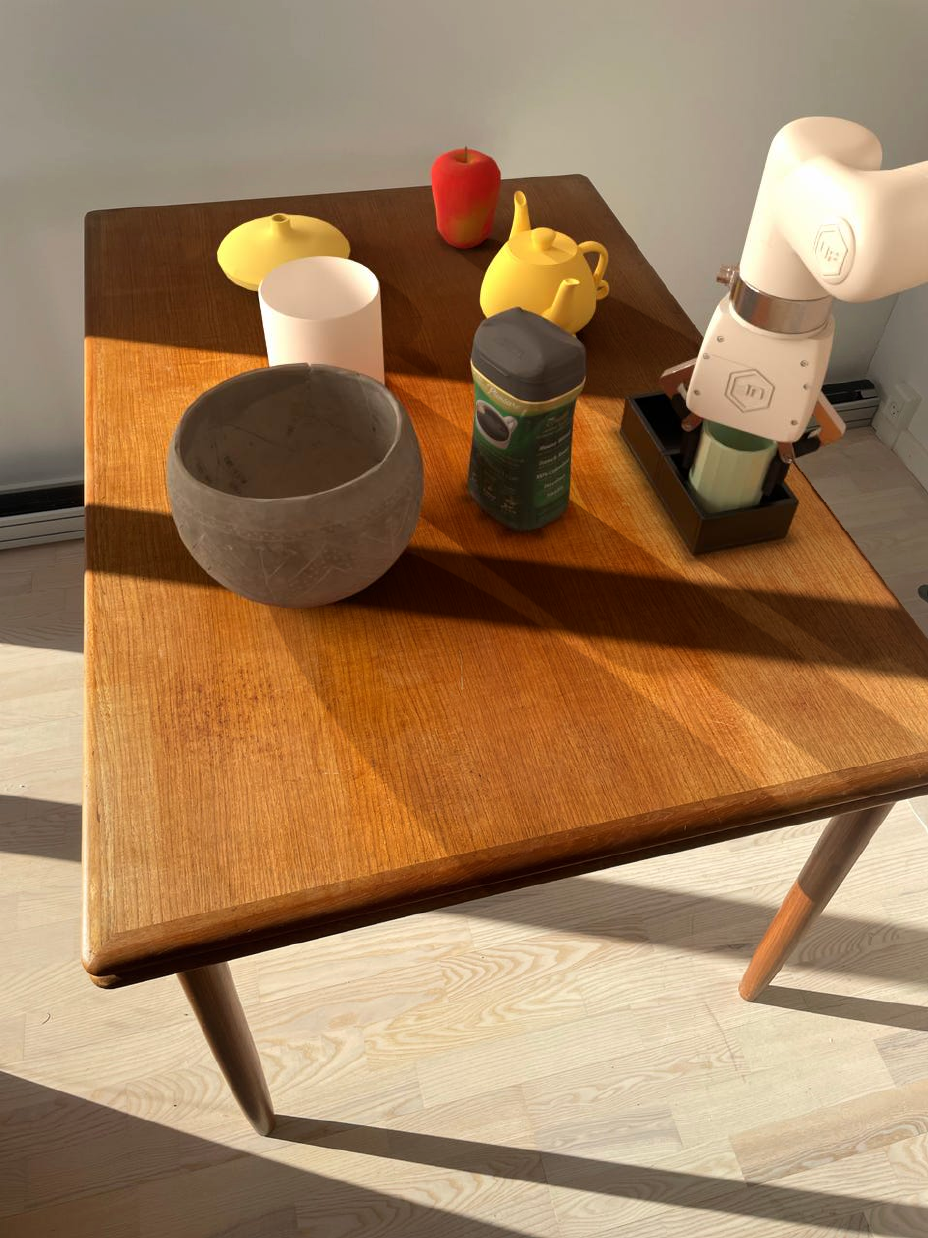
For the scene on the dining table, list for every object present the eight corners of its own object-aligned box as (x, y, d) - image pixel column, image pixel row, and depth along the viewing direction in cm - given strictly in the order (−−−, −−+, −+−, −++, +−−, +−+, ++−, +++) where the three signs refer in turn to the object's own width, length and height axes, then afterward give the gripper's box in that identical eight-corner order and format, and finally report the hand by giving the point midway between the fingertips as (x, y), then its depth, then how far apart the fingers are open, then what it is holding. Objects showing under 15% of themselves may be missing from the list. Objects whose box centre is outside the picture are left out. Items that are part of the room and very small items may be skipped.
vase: (351, 308, 113) (347, 251, 108) (215, 310, 112) (203, 254, 107) (352, 239, 123) (348, 184, 118) (227, 241, 122) (217, 186, 117)
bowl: (182, 500, 91) (146, 366, 80) (397, 466, 95) (392, 333, 84) (203, 671, 78) (163, 540, 67) (451, 623, 82) (453, 491, 71)
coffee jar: (582, 509, 92) (608, 339, 77) (519, 546, 88) (534, 375, 74) (515, 456, 96) (528, 287, 82) (453, 489, 93) (455, 319, 79)
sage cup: (767, 487, 91) (791, 419, 85) (746, 531, 87) (770, 463, 81) (699, 464, 93) (717, 396, 87) (675, 506, 89) (692, 438, 83)
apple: (511, 242, 124) (516, 148, 115) (461, 263, 120) (462, 168, 111) (467, 216, 128) (469, 123, 119) (417, 235, 124) (416, 141, 115)
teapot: (635, 367, 107) (652, 271, 98) (506, 386, 104) (512, 289, 95) (575, 273, 119) (586, 180, 110) (459, 287, 116) (460, 194, 108)
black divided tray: (785, 538, 90) (799, 501, 86) (692, 556, 88) (703, 519, 84) (703, 418, 101) (712, 381, 97) (619, 432, 99) (625, 395, 96)
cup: (299, 348, 108) (286, 247, 98) (399, 367, 106) (395, 266, 97) (256, 411, 100) (238, 308, 91) (362, 433, 98) (354, 329, 89)
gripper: (659, 289, 75) (625, 466, 88) (886, 353, 70) (813, 530, 83) (690, 245, 79) (653, 420, 93) (907, 303, 74) (834, 479, 88)
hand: (729, 471), depth 88 cm, fingers closed on sage cup, 6 cm apart
